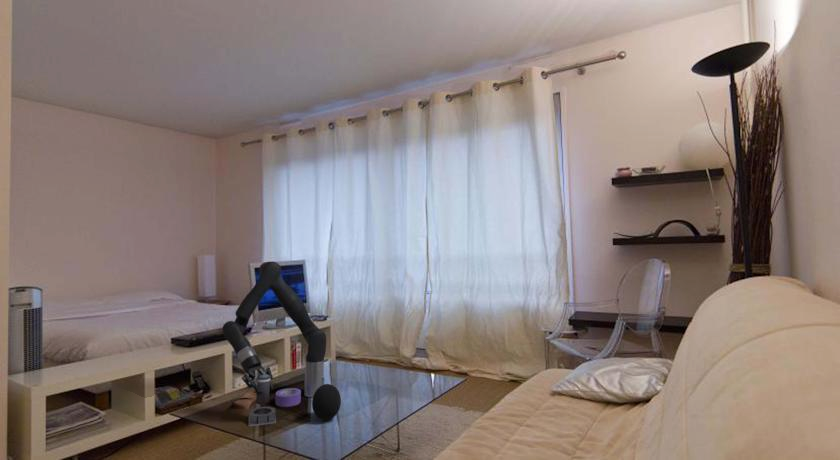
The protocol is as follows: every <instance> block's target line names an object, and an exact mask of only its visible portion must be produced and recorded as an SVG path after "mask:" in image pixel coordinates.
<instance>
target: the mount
mask: <svg viewBox="0 0 840 460" xmlns="http://www.w3.org/2000/svg"><path fill="white" fill-rule="evenodd" d="M271 424H277V418H276V408H275V407H271V406H260V407H256V408H253V409H251V410H250V411H249V414H248V427H256V426H257V427H258V426H265V425H271Z"/></svg>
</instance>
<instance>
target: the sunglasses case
mask: <svg viewBox="0 0 840 460" xmlns="http://www.w3.org/2000/svg"><path fill="white" fill-rule="evenodd" d="M256 394H257V393H256V392H254V391H251V390H249V389H247V390H246V391H245V392H244V393H243V394H241V395H239V396H238V397H237V398H236V399H235V400H234V401H233V402H232V403H231V405H230V406H231V407H230V408H231V410H249V409H250V408H251V407H252V406H253V405H254V404H256Z"/></svg>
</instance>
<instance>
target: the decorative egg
mask: <svg viewBox="0 0 840 460" xmlns="http://www.w3.org/2000/svg"><path fill="white" fill-rule="evenodd" d="M341 403H342V398H341V393H340V391H339V390H338V389H337V387H336V386H335V385H333V384H331V383H324V385H322V386H320V387H319V388H318V389H317V390H316V392H315V393H314V396H313V397H312V399H311V408H312V412H313V413H314V415H315V417H317V418H318V419H319V420H321V421H330V420H332V419H334V418H335V417H336V416H337V415H338V413H339V411H340V408H341Z"/></svg>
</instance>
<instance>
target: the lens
mask: <svg viewBox="0 0 840 460" xmlns="http://www.w3.org/2000/svg"><path fill="white" fill-rule="evenodd" d="M257 382H258V385H259V386H260V388H261V390H262V393H261V395H258V394H257V393H256V402H255V404H257V405H265V404H269V402H270V391H269V389H270V382H271V381H270V375H266V374H264V375H259V376H258V377H257Z"/></svg>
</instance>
